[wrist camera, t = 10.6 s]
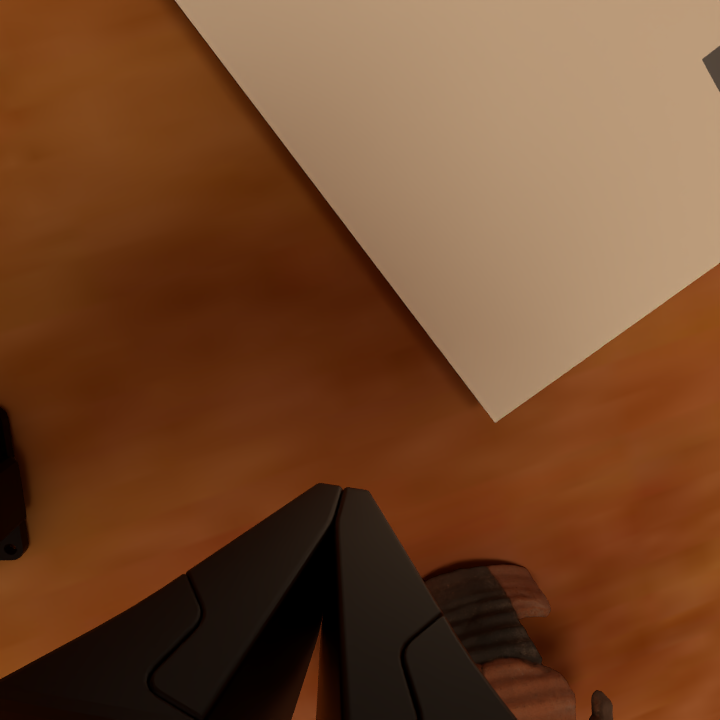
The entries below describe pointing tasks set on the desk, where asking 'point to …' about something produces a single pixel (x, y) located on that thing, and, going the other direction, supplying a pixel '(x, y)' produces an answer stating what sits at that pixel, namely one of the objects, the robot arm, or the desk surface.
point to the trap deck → (500, 158)
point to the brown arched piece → (508, 639)
